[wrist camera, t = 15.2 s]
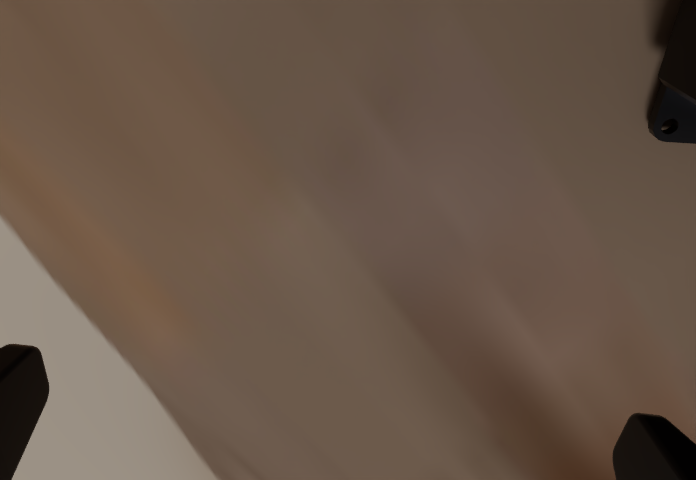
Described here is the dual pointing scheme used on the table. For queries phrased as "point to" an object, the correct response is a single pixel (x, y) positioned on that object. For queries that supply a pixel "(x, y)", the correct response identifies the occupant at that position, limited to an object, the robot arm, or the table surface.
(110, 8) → the table surface
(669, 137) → the robot arm
